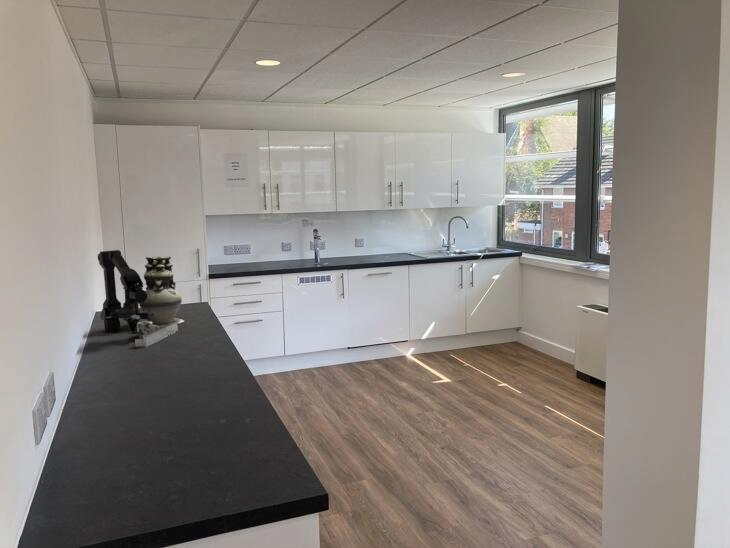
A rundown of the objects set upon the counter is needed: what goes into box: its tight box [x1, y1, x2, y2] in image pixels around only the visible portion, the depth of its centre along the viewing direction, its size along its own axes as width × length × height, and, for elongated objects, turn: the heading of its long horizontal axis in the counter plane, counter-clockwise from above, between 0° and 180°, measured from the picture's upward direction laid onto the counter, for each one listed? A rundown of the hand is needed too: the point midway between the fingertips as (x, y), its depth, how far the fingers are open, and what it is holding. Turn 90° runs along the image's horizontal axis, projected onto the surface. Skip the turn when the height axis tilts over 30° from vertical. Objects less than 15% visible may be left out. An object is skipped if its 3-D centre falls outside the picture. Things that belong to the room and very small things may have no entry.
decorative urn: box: [139, 255, 185, 327], centre depth 306 cm, size 21×21×35 cm
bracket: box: [134, 321, 179, 348], centre depth 273 cm, size 6×29×5 cm, turn 171°
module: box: [136, 320, 152, 333], centre depth 289 cm, size 6×4×5 cm, turn 91°
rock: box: [138, 322, 161, 339], centre depth 278 cm, size 15×10×7 cm
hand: (133, 332), depth 275 cm, fingers closed
